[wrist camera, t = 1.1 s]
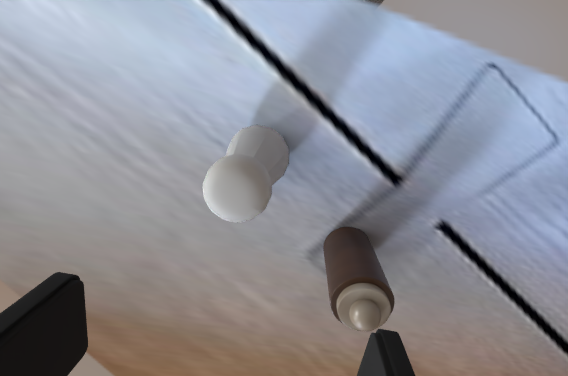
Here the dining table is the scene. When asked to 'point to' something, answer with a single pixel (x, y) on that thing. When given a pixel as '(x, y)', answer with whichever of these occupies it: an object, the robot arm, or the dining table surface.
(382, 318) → the pepper mill
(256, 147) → the salt shaker
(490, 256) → the dining table surface
